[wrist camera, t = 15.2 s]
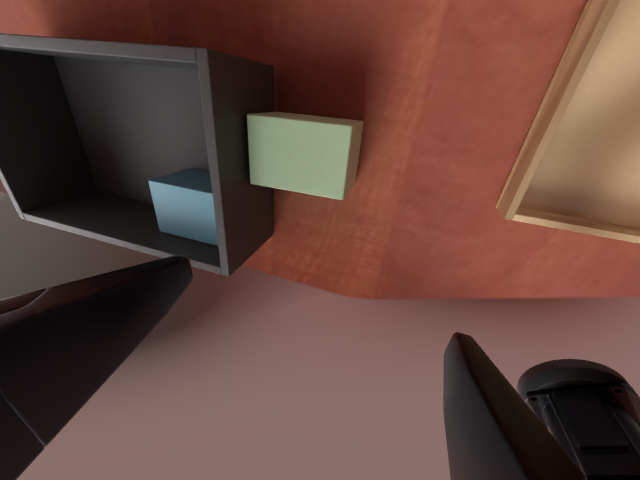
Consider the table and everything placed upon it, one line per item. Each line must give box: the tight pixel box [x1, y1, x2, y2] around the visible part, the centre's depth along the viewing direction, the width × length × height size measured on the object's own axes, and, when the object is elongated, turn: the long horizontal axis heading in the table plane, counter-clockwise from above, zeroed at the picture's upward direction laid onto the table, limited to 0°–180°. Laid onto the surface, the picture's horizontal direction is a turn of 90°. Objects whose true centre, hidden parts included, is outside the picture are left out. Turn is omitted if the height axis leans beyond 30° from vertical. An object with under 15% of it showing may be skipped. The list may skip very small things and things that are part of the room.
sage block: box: [247, 112, 364, 200], centre depth 17 cm, size 4×4×6 cm
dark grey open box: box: [0, 33, 274, 276], centre depth 19 cm, size 19×12×6 cm, turn 84°
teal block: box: [148, 168, 218, 246], centre depth 20 cm, size 4×4×6 cm
